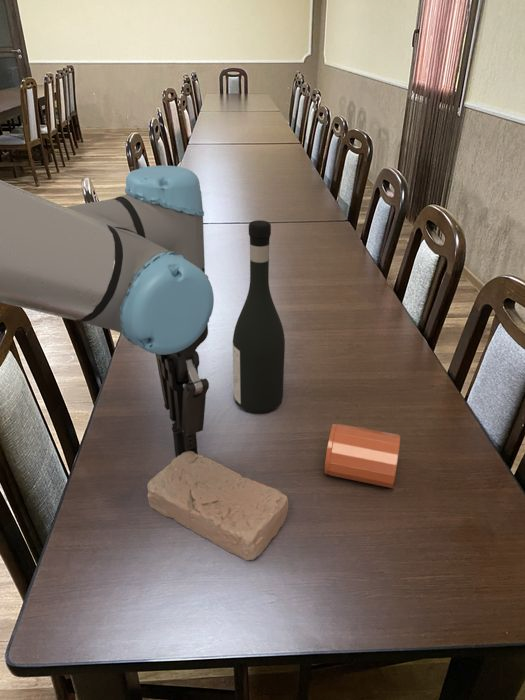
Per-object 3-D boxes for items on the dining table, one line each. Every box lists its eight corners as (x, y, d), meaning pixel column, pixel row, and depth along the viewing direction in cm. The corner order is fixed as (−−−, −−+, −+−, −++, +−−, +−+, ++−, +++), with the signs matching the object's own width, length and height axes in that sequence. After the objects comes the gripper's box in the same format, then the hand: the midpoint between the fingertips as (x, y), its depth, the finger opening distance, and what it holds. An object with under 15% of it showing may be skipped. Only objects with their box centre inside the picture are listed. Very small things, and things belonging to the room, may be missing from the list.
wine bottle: (226, 410, 86) (221, 228, 71) (243, 383, 93) (242, 211, 77) (274, 420, 84) (279, 235, 69) (288, 392, 90) (296, 217, 75)
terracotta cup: (322, 473, 69) (393, 487, 67) (332, 419, 71) (401, 432, 69) (326, 475, 76) (391, 488, 74) (335, 426, 77) (398, 438, 75)
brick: (145, 507, 69) (141, 481, 66) (187, 469, 75) (185, 443, 72) (252, 570, 61) (253, 542, 59) (290, 521, 67) (291, 494, 65)
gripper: (228, 324, 59) (232, 481, 71) (183, 281, 68) (193, 425, 81) (162, 340, 56) (178, 501, 68) (125, 292, 65) (145, 441, 77)
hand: (186, 460), depth 74 cm, fingers closed
